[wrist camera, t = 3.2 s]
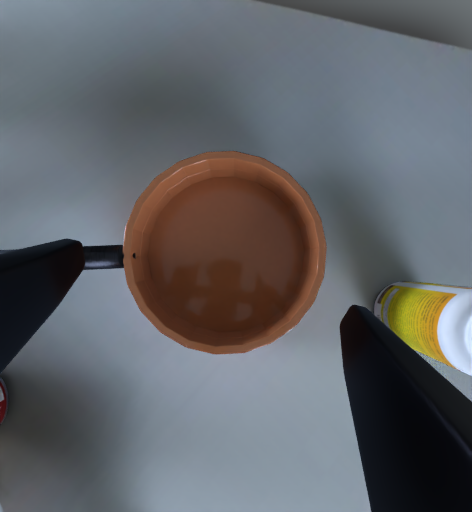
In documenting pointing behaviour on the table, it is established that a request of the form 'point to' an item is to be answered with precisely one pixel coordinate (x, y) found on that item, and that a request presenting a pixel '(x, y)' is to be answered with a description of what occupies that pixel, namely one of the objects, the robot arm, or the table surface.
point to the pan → (224, 252)
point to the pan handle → (100, 256)
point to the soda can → (3, 400)
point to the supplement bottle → (430, 319)
